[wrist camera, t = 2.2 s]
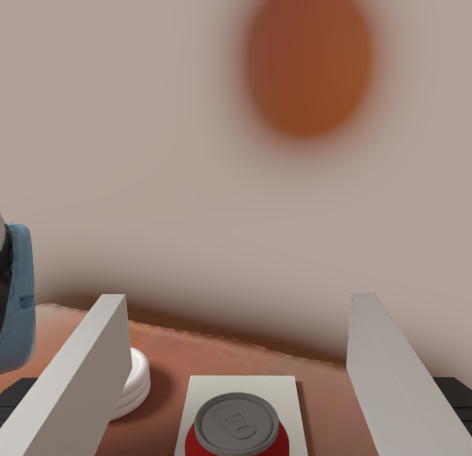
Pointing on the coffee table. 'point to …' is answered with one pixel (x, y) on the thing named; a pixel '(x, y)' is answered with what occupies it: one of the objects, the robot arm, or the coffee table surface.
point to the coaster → (134, 386)
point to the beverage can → (237, 428)
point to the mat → (267, 387)
